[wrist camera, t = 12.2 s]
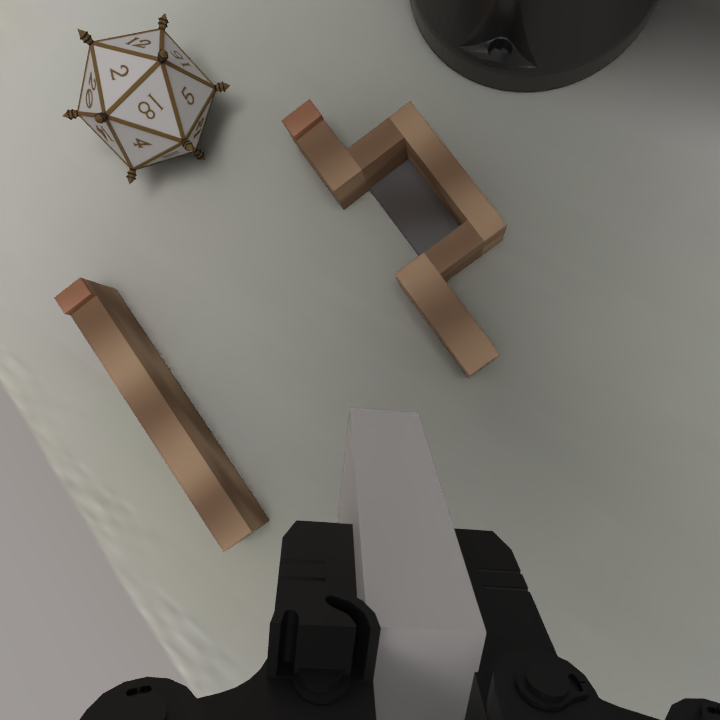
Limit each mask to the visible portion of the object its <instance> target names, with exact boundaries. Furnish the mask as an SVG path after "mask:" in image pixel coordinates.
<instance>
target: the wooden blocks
mask: <svg viewBox="0 0 720 720" xmlns="http://www.w3.org/2000/svg"><path fill="white" fill-rule="evenodd" d="M282 122H283V124H284V125H285V127H286V128H287V130H288V132H289V133H290V135H291V137H292V138H293V140H294V141H295V143H296V145H297V146H298V148H299V149H300V151H301V152H302V153H303V155H304V156H305V157H306V159H307V160H308V161H309V163H310V164H311V166H312V167H313V168H314V170H315V171H316V172H317V174H318V175H319V176H320V178H321V179H322V180H323V182H324V183H325V184H326V186H327V187H328V189H329V190H330V191H331V193H332V194H333V195H334V197H335V198H336V199H337V201H338V202H339V203H340V205H341V206H342V207H343V209H345V208H346V207H348V206H349V205H350V204H352V203H353V202H354V201H356V200H357V199H358V198H360V197H361V196H362V195H364V194H365V193H366V192H367V191H369V190H370V191H371V192H372V194H373V195H374V196H375V198H376V199H377V200H378V202H379V203H380V204H381V206H382V207H383V208H384V210H385V211H386V212H387V214H388V215H389V216H390V218H391V219H392V220H393V222H394V223H395V224H396V226H397V227H398V228H399V230H400V231H401V232H402V234H403V235H404V236H405V238H406V239H407V240H408V242H409V243H410V244H411V246H412V247H413V248H414V250H415V251H416V252H417V254H418V255H419V257H417V258H416V259H415V260H413V261H412V262H411V263H409V264H408V265H406V266H405V267H404V268H402V269H401V270H400V271H398V272H397V273H396V274H395V276H396V278H397V280H398V282H399V284H400V286H401V287H402V289H403V290H404V291H405V293H406V294H407V295H408V297H409V298H410V300H411V301H412V302H413V304H414V305H415V306H416V308H417V309H418V310H419V312H420V313H421V314H422V316H423V317H424V318H425V320H426V321H427V323H428V324H429V325H430V327H431V328H432V329H433V331H434V332H435V333H436V335H437V336H438V337H439V339H440V340H441V341H442V343H443V344H444V346H445V347H446V348H447V350H448V351H449V352H450V354H451V355H452V356H453V358H454V359H455V360H456V362H457V363H458V364H459V366H460V367H461V369H462V370H463V371H464V373H465V374H466V375H467V377H468V378H469V377H470V376H472V375H473V374H475V373H476V372H477V371H479V370H480V369H482V368H483V367H484V366H486V365H487V364H489V363H490V362H491V361H493V360H494V359H495V358H497V357H498V356H499V355H500V353H499V352H498V351H497V349H496V348H495V347H494V345H493V344H492V343H491V341H490V340H489V339H488V337H487V336H486V335H485V333H484V332H483V331H482V329H481V328H480V327H479V325H478V324H477V323H476V321H475V320H474V319H473V317H472V316H471V315H470V313H469V312H468V311H467V309H466V308H465V307H464V305H463V304H462V303H461V301H460V300H459V299H458V297H457V296H456V295H455V293H454V292H453V291H452V289H451V288H450V287H449V285H448V284H447V283H446V281H447V280H449V279H450V278H452V277H453V276H454V275H456V274H457V273H458V272H460V271H461V270H462V269H464V268H465V267H467V266H468V265H469V264H471V263H472V262H473V261H475V260H476V259H477V258H479V257H480V256H482V255H483V254H484V253H486V252H487V251H488V250H490V249H491V248H492V247H494V246H495V245H496V244H498V243H499V242H501V241H502V239H503V236H504V232H505V229H506V226H507V224H506V223H505V222H504V220H503V219H502V218H501V217H500V215H499V214H498V213H497V211H496V210H495V209H494V208H493V206H492V205H491V204H490V202H489V201H488V200H487V199H486V197H485V196H484V195H483V193H482V192H481V191H480V190H479V188H478V187H477V186H476V184H475V183H474V182H473V181H472V179H471V178H470V177H469V175H468V174H467V173H466V172H465V170H464V169H463V168H462V167H461V165H460V164H459V163H458V161H457V160H456V159H455V158H454V156H453V155H452V154H451V152H450V151H449V150H448V149H447V147H446V146H445V145H444V143H443V142H442V141H441V140H440V138H439V137H438V136H437V134H436V133H435V132H434V131H433V129H432V128H431V127H430V125H429V124H428V123H427V122H426V120H425V119H424V118H423V117H422V115H421V114H420V113H419V111H418V110H417V109H416V108H415V106H414V105H413V104H412V102H411V101H410V102H408V103H407V104H406V105H404V106H403V107H402V108H401V109H399V110H398V111H397V112H395V113H394V114H393V115H391V116H390V117H389V118H387V119H386V120H385V121H384V122H382V123H381V124H380V125H378V126H377V127H376V128H374V129H373V130H372V131H370V132H369V133H368V134H367V135H365V136H364V137H363V138H361V139H360V140H359V141H357V142H356V143H355V144H354V145H352V146H351V147H350V148H348V149H347V150H346V148H345V147H344V146H343V144H342V143H341V142H340V140H339V139H338V138H337V136H336V135H335V134H334V132H333V131H332V130H331V129H330V127H329V126H328V125H327V123H326V122H325V121H324V119H323V117H322V115H321V113H320V112H319V111H318V109H317V108H316V107H315V105H314V104H313V103H312V101H311V100H310V99H309V100H308V101H306V102H305V103H304V104H302V105H301V106H300V107H299V108H297V109H296V110H295V111H294V112H292V113H291V114H290V115H288V116H287V117H286V118H285V119H283V120H282ZM55 300H56V301H57V303H58V304H59V306H60V307H61V309H62V311H63V312H64V314H68V315H71V317H72V318H73V320H74V321H75V323H76V324H77V326H78V327H79V329H80V330H81V332H82V334H83V335H84V337H85V338H86V340H87V341H88V343H89V344H90V346H91V347H92V349H93V351H94V352H95V354H96V355H97V357H98V358H99V360H100V361H101V363H102V364H103V366H104V368H105V369H106V371H107V372H108V374H109V375H110V377H111V378H112V380H113V382H114V383H115V385H116V386H117V388H118V389H119V391H120V392H121V394H122V395H123V397H124V399H125V400H126V402H127V403H128V405H129V406H130V408H131V409H132V411H133V412H134V414H135V416H136V417H137V419H138V420H139V422H140V423H141V425H142V426H143V428H144V429H145V431H146V433H147V434H148V436H149V437H150V439H151V440H152V442H153V443H154V445H155V447H156V448H157V450H158V451H159V453H160V454H161V456H162V457H163V459H164V460H165V462H166V464H167V465H168V467H169V468H170V470H171V471H172V473H173V474H174V476H175V477H176V479H177V481H178V482H179V484H180V485H181V487H182V488H183V490H184V491H185V493H186V494H187V496H188V498H189V499H190V501H191V502H192V504H193V505H194V507H195V508H196V510H197V511H198V513H199V515H200V516H201V518H202V519H203V521H204V522H205V524H206V525H207V527H208V529H209V530H210V532H211V533H212V535H213V536H214V538H215V539H216V541H217V542H218V544H219V546H220V547H221V549H222V550H223V552H224V551H226V550H227V549H229V548H230V547H232V546H233V545H235V544H237V543H238V542H240V541H241V540H243V539H244V538H245V537H247V536H248V535H250V534H251V533H252V532H254V531H255V530H257V529H258V528H259V527H261V526H262V525H264V524H265V523H266V522H268V521H269V519H268V518H267V516H266V515H265V513H264V512H263V510H262V509H261V507H260V506H259V504H258V503H257V501H256V500H255V498H254V497H253V495H252V494H251V492H250V491H249V489H248V488H247V486H246V484H245V483H244V481H243V480H242V478H241V477H240V475H239V474H238V472H237V471H236V469H235V468H234V466H233V465H232V463H231V462H230V460H229V459H228V457H227V456H226V454H225V453H224V451H223V450H222V448H221V447H220V445H219V444H218V442H217V441H216V439H215V438H214V436H213V435H212V433H211V432H210V430H209V429H208V427H207V426H206V424H205V423H204V421H203V420H202V418H201V417H200V415H199V414H198V412H197V411H196V409H195V408H194V406H193V405H192V403H191V402H190V400H189V398H188V397H187V395H186V394H185V392H184V391H183V389H182V388H181V386H180V385H179V383H178V382H177V380H176V379H175V377H174V376H173V374H172V373H171V371H170V370H169V368H168V367H167V365H166V364H165V362H164V361H163V359H162V358H161V356H160V355H159V353H158V352H157V350H156V349H155V347H154V346H153V344H152V343H151V341H150V340H149V338H148V337H147V335H146V334H145V332H144V331H143V329H142V328H141V326H140V325H139V323H138V322H137V320H136V319H135V317H134V315H133V314H132V312H131V311H130V309H129V308H128V306H127V305H126V303H125V302H124V300H123V299H122V297H121V296H120V294H119V293H118V291H117V290H116V289H114V288H110V287H107V286H104V285H101V284H98V283H95V282H92V281H89V280H86V279H83V278H79V279H78V280H76V281H75V282H74V283H73V284H71V285H70V286H69V287H67V288H66V289H65V290H64V291H62V292H61V293H60V294H58V295H57V296H56V297H55Z"/></svg>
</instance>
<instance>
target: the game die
mask: <svg viewBox="0 0 720 720" xmlns="http://www.w3.org/2000/svg"><path fill="white" fill-rule="evenodd" d="M167 23H169V22H168V20H167V17H166V14H164V15H163V16H162V17H161V18H159V22H158V24H159V28H158V29H154V30H149V31H144V32H139V33H134V34H128V35H123V36H118V37H113V38H108V39H103V40H97V41H93V40H92V38H91V35H89V34H88V32H87V31H86V32H85V31H82V30H80V29H78V32H79V35H80V39H82V40H83V41H84V43H87V44H89V51H88V56H87V62H86V67H85V72H84V78H83V83H82V89H81V94H80V99H79V105H78V110H73V109H72V110H67V112H66V113H65V114H64V115H63V116H64V117H67V118H69V119H71V120H72V119H73V118H75V119H76V117H78V116H80V117H81V118H82V119H83V120H84V121H85V123H86V124H87V125H88V126H89V127H90V128H91V129H92V130H93V131H94V132H95V133H96V134H97V135H98V136H99V137H100V138H101V139H102V140H103V141H104V142H105V143H106V144H107V145H108V146H109V147H110V148H111V149H112V150H113V151H114V152H115V153H116V154H117V155H118V156H119V157H120V158H121V159H122V160H123V162H124V163H125V164H126V165H127V166H128V167H129V168H130V170H129V172H127V173H128V175H127V176H126V177H127V178H128V181H129V184H131V183H132V182H133V181H134V180H135V179H136V178H135V177H136V176H137V175H136V170H137V169H140V168H144V167H147V166H150V165H153V164H157V163H160V162H163V161H166V160H170V159H173V158H176V157H179V156H183V155H186V154H189V153H193V152H194V154H195V155H194V156H196V157H197V159H202V160H205V158H204V152H201V150H199V149H197V147H198V144H199V141H200V138H201V135H202V132H203V129H204V126H205V123H206V120H207V116H208V113H209V110H210V107H211V104H212V101H213V98H214V95H215V92H216V91H220V92H221V91H224V92H225V90H226V89H227V88H228V87H229V86H230V85H228V84H226V83H223V82H222V83H218V84H217V85H213V84H212V82H211V81H210V80H209V79H208V78H207V77H206V76H205V75H204V74H203V72H202V71H201V70H200V69H199V68H198V67H197V66H196V65H195V64H194V63H193V61H192V60H191V59H190V58H189V57H188V56H187V55H186V54H185V53H184V51H183V50H182V49H181V48H180V47H179V46H178V45H177V44H176V43H175V42H174V40H173V39H172V38H171V37H170V36H169V35H168V34H167V33H166V32H165V29H166V27H167Z"/></svg>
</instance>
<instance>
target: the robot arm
mask: <svg viewBox="0 0 720 720" xmlns="http://www.w3.org/2000/svg"><path fill="white" fill-rule="evenodd" d="M657 1H658V0H410V3H411V8H412V11H413V15H414V18H415V20H416V23H417V25H418V27H419V29H420V32H421V33H422V35H423V37H424V39H425V40H426V41H427V43H428V44H429V46H430V47H431V48H432V50H433V51H434V52H435V53H436V54H437V55H438V56H439V57H440V58H441V59H442V60H443V61H444V62H445V63H446V64H447V65H449V66H450V67H451V68H453V69H454V70H455V71H457V72H458V73H460V74H462V75H463V76H465V77H467V78H469V79H471V80H473V81H476V82H478V83H481V84H484V85H486V86H490V87H494V88H498V89H503V90H510V91H540V90H548V89H553V88H557V87H562V86H565V85H568V84H571V83H574V82H577V81H579V80H582V79H584V78H586V77H588V76H590V75H592V74H594V73H595V72H597V71H599V70H600V69H602V68H603V67H605V66H606V65H608V64H609V63H611V62H612V61H613V60H614V59H616V58H617V57H618V56H619V55H620V54H621V53H622V52H624V50H625V49H626V48H627V47H628V46H629V45H630V44H631V43H632V42H633V41H634V40H635V38H636V37H637V36H638V34H639V33H640V32H641V30H642V29H643V27H644V26H645V24H646V22H647V21H648V19H649V17H650V15H651V13H652V11H653V9H654V7H655V5H656V3H657ZM338 520H339V523H328V522H312V521H296V522H295V523H294V524H293V525H292V527H291V528H290V529H289V530H288V532H287V533H286V534H285V535H284V537H283V540H282V549H281V558H280V567H279V576H278V585H277V594H276V603H275V612H274V615H273V617H272V620H271V622H270V632H269V645H268V658H267V660H266V661H265V663H264V664H263V666H262V668H261V669H260V670H259V671H258V672H257V673H256V674H255V675H254V676H253V677H252V678H251V679H249V680H248V681H246V682H244V683H243V684H241V685H239V686H238V687H236V688H233V689H230V690H227V691H224V692H221V693H218V694H214V695H210V696H206V697H201V698H196V697H195V696H194V695H193V694H192V692H191V691H190V690H189V689H188V688H187V687H186V686H184V685H182V684H179V683H177V682H175V681H173V680H171V679H168V678H155V677H145V678H140V679H135V680H131V681H127V682H123V683H122V684H120V685H118V686H116V687H114V688H113V689H111V690H109V691H107V692H105V693H103V694H102V695H101V696H100V697H99V698H98V699H97V700H96V701H95V702H94V703H93V704H92V705H91V706H90V707H89V708H88V709H87V710H86V712H85V713H84V714H83V716H82V717H81V718H80V720H659V719H656V718H653V717H649V716H646V715H643V714H640V713H637V712H634V711H630V710H627V709H624V708H621V707H618V706H616V705H613V704H611V703H608V702H606V701H603V700H602V699H600V698H599V697H598V695H597V693H596V691H595V689H594V688H593V687H592V685H591V684H590V682H589V681H588V679H587V678H586V676H585V675H584V674H583V673H582V672H580V671H579V670H578V669H577V668H575V667H574V666H573V665H572V664H571V663H569V662H568V661H566V660H564V659H562V658H560V657H558V656H557V654H556V651H555V649H554V647H553V645H552V642H551V640H550V638H549V635H548V633H547V631H546V628H545V626H544V624H543V621H542V619H541V617H540V615H539V612H538V610H537V608H536V605H535V603H534V601H533V598H532V596H531V594H530V592H528V587H527V584H526V582H525V580H524V578H523V575H522V574H520V568H519V566H518V564H517V561H516V559H515V557H514V554H513V552H512V550H511V549H510V548H509V547H508V546H507V545H506V544H505V543H504V542H503V541H502V540H501V539H500V538H499V537H498V536H497V535H496V534H495V533H494V532H493V531H483V530H468V529H454V527H453V524H452V521H451V518H450V514H449V511H448V508H447V505H446V502H445V498H444V495H443V492H442V489H441V486H440V482H439V479H438V476H437V473H436V470H435V466H434V463H433V460H432V457H431V454H430V450H429V447H428V444H427V441H426V438H425V434H424V431H423V428H422V425H421V422H420V418H419V415H418V413H417V412H404V411H391V410H379V409H366V408H353V407H350V413H349V422H348V431H347V440H346V449H345V458H344V467H343V476H342V485H341V494H340V503H339V512H338ZM665 720H720V703H717V702H713V701H710V700H707V699H689V698H685V699H683V700H681V701H679V702H677V703H675V704H673V705H672V706H671V708H670V710H669V712H668V714H667V716H666V719H665Z"/></svg>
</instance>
